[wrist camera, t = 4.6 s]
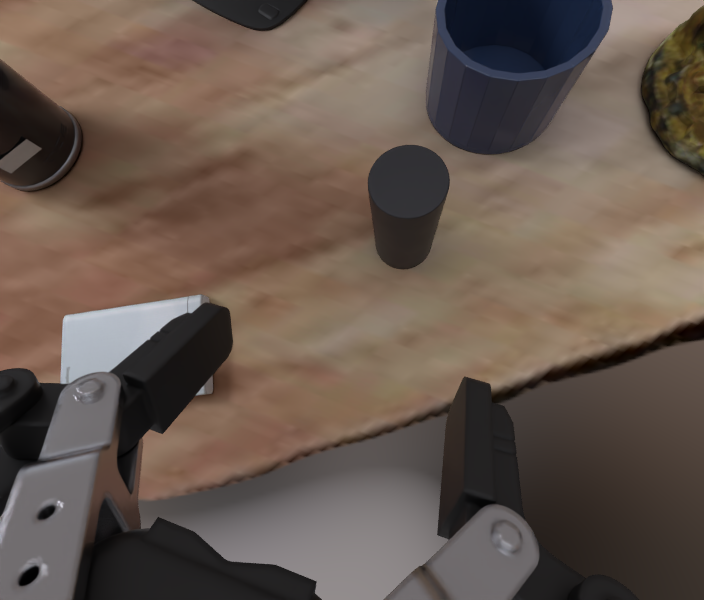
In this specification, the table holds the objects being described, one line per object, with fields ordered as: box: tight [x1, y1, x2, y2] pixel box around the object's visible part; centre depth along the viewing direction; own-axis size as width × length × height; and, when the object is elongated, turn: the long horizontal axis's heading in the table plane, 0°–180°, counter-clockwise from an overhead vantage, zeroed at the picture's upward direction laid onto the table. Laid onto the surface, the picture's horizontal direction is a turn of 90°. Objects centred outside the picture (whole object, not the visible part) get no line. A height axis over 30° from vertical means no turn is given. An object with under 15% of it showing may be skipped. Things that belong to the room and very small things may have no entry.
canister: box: [368, 145, 450, 269], centre depth 25 cm, size 5×5×10 cm
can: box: [426, 0, 613, 154], centre depth 28 cm, size 11×11×8 cm
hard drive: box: [60, 294, 213, 396], centre depth 30 cm, size 2×8×12 cm
